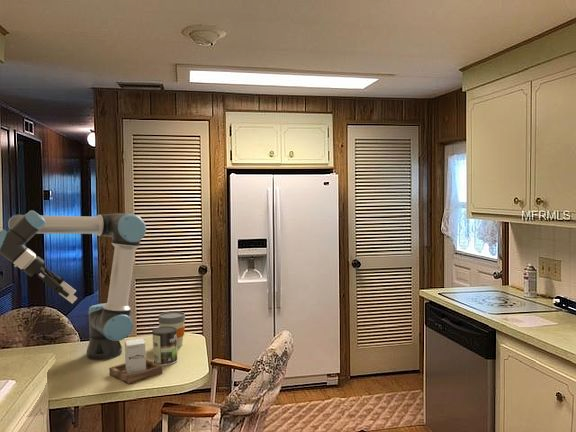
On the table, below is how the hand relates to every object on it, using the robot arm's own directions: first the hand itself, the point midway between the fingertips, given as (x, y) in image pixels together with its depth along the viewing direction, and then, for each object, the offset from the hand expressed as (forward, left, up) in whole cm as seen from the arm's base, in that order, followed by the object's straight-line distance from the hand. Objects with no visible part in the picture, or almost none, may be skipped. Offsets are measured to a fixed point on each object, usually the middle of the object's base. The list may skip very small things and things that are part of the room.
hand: (74, 297), depth 196 cm
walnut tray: (+15, +17, -33) cm, 40 cm away
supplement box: (+15, +17, -32) cm, 39 cm away
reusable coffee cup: (-3, +47, -33) cm, 57 cm away
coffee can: (+12, +33, -33) cm, 48 cm away
